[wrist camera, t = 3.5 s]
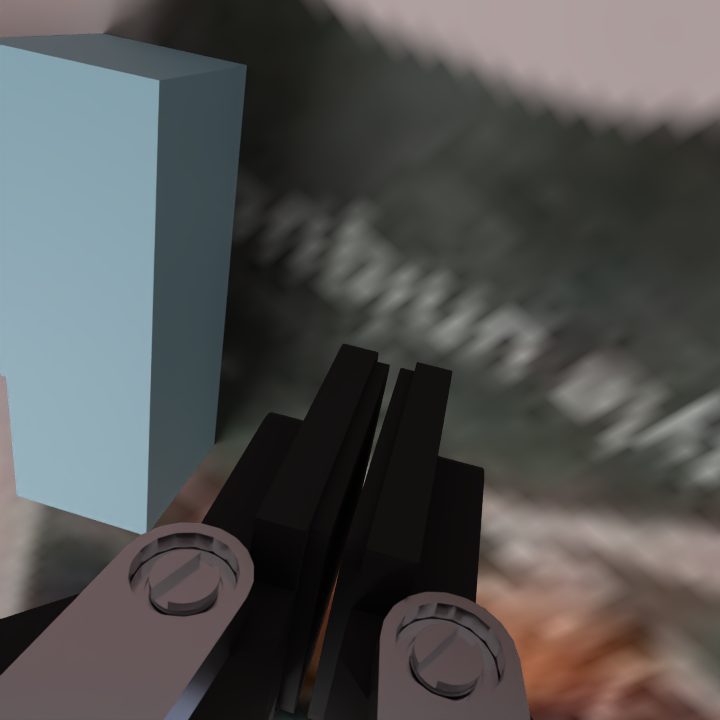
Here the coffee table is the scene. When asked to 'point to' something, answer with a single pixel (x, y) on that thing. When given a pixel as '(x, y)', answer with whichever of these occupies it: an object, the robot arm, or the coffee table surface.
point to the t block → (114, 266)
